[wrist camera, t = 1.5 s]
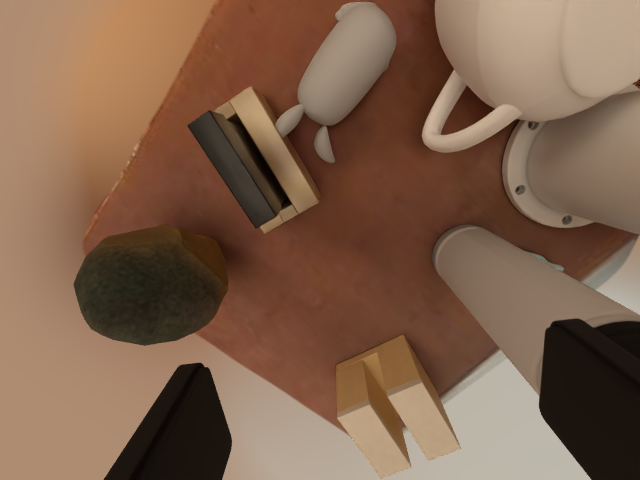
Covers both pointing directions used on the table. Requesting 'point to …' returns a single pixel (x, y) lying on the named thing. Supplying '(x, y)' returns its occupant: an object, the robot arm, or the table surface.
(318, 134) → the rabbit figurine
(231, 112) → the knife block
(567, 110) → the teapot
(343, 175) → the table surface
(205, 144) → the knife
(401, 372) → the u-shaped wooden stand
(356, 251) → the table surface
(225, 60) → the table surface
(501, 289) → the travel mug
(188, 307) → the decorative stone
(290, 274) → the table surface
